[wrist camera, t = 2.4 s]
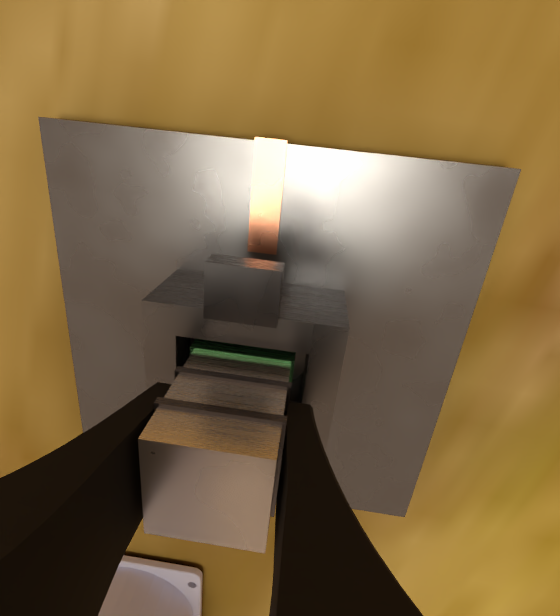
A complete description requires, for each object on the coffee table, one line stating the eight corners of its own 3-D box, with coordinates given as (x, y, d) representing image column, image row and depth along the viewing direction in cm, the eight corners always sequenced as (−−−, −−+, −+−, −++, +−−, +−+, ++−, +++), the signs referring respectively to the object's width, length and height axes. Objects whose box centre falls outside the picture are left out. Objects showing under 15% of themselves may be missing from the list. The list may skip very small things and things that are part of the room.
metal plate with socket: (400, 498, 18) (423, 604, 14) (99, 450, 19) (36, 537, 15) (507, 163, 12) (604, 174, 8) (57, 115, 13) (-69, 102, 9)
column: (289, 399, 15) (268, 556, 9) (209, 387, 15) (140, 535, 9) (299, 326, 14) (281, 457, 8) (211, 314, 14) (132, 434, 8)
